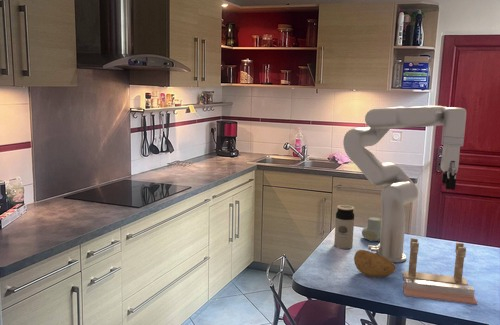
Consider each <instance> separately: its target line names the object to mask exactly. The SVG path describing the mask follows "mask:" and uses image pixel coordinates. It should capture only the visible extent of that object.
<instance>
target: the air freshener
mask: <svg viewBox="0 0 500 325" xmlns="http://www.w3.org/2000/svg"><path fill="white" fill-rule="evenodd" d="M380 233H381V218H379V217H374V216H373V217H368V218H367V226H365V227H363V228H362V231H361V235H362V237H363V238H364V239H366V240H367V241H369V242H380Z"/></svg>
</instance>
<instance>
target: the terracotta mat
mask: <svg viewBox="0 0 500 325" xmlns="http://www.w3.org/2000/svg"><path fill="white" fill-rule="evenodd" d="M405 284H406V282H402V285H403V286H402V287H403V293H404V296H405V297H414V298H421V299H428V300H429V299H430V300H438V301H445V302H453V303H460V304H461V303H462V304H469V305H478V302H477V299H476V297H475V296H474V298H467V297H459V296H451V295H443V294H435V293H427V292H419V291H411V290H406V288H405Z"/></svg>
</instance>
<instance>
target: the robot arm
mask: <svg viewBox="0 0 500 325" xmlns="http://www.w3.org/2000/svg"><path fill="white" fill-rule="evenodd" d="M364 121H365V122H364V123H365V124H366V125H367V126H365V127H364V126H363V127H354V128H351V129H348V131H347V132H346V133H344V134H345V135H344V136H343V142H342V143H343V150H344V152H345V154H346V155H347V157H348V158H349V159H350V160H351V161H352V162H353V164H355V166H357V168H358V169H359V170H360V172H361V173H362V174H363V176H365V178H366V179H367V180H368V181H369V182H370V183H371V184H372V185H373V186H374V187H378V188H379V187H384V188H383V189H382V190H381V192H380V193H381V194H380V201H381V202H380V203H381V218H380V219H381V233H380V241H379V243H378V244H376V245H369V244H368V247H367V249H368V250H367V251H370V252H373V253H376V254H378V255H381V256H383V257H385V258H387V259H389V260H391V261H392V262H393V263H403V262H405V261H406V260H407V255H406V254H405V253H404V243H405V242H404V241H405V228H406V219H407V218H406V216H407V215H406V211H405V205H409V204H410V203H413V202H414V201H416V199H417V198H418V196H419V195H418V194H419V190H418V187H417V186H416V184H415V182H414V181H412V179H411V178H410V176H408V175H407V174H406V173H405V171H404V170H403V169H402V168H401V167H399V166H398V165H397V164H395V163H393V162H381V161H380V160H379V159H378V158H377V156H376V155H375V154H374V153H373V152H371V151H370V150H368V149H367V148H366V147H372V146H374V145H375V146H376V145H377V144H378V143H379V142H380V141H381V140H382V139H383V138H384V137H385V135H387V133H388V132H389V131H390V130H391V129H404V128H418V127H419V128H420V127H421V128H422V127H428V128H429V127H438V126H439V127H440V126H442V131H441V141H440V142H441V145H442V146H443V147H442V153H441V154H442V155H441V161H440V169H441V171H442V178H441V184H442V185H445V189H446V190H456V184H457V183H456V182H457V173H458V170H459V166H460V165H459V164H460V153H461V151H460V150H461V147H464V140H465V131H466V121H467V110H466V109H465V108H463V107H455V106H454V107H452V106H451V107H450V106H449V107H447V106H442V105H423V106H411V107H410V106H409V107H405V106H394V107H378V108H377V107H376V108H371V109H370V110H368V111H367V112H366V113H365V116H364Z"/></svg>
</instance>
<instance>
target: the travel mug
mask: <svg viewBox="0 0 500 325" xmlns="http://www.w3.org/2000/svg"><path fill="white" fill-rule="evenodd" d="M336 208H337V212H336V213H335V224H334V226H335V228H334V242H333V243H334V244H333V245H334V247H336V248H338V249H343V250H347V249H351V248H353V245H354V244H353V243H354V230H355V229H354V228H355V227H354V226H355V213H354V210H355V207H354V206H353V205H348V204H339V205H337V206H336Z"/></svg>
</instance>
